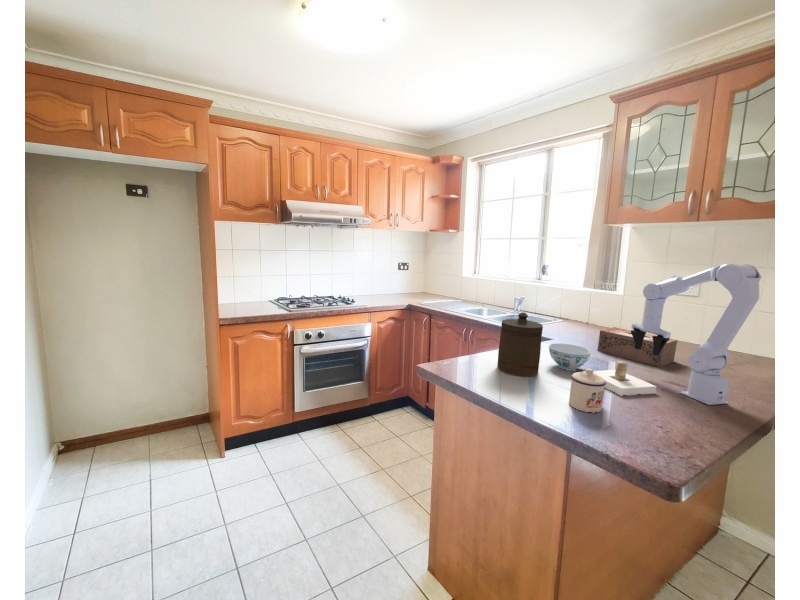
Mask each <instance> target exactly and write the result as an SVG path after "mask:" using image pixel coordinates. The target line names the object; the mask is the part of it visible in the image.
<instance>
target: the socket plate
mask: <svg viewBox="0 0 800 600" xmlns="http://www.w3.org/2000/svg"><path fill="white" fill-rule="evenodd" d="M615 371H616V369H607V370H605V369H603V370H593V373H595V374H597V375H598V376H600V377H602V378H603V379H604V380H605V382H606V384H605V386H604V389H606V390H607V391H610V390H611V391H610V392H612V391H613V392H612V393H614V392H615V393H614V394H616V395H618V396H620V397H624V396H623V395H626V396H638V395H637V394H641V395H653V394H656V391H657V386H656V385H654V384H652V383H649V382H647V381H645V380H643V379H640V378H638V377H636V376H633V375H631V374H628V373H626V377H625V381H618V380H615V379H614V378H615Z"/></svg>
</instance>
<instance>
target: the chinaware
mask: <svg viewBox="0 0 800 600" xmlns="http://www.w3.org/2000/svg"><path fill="white" fill-rule="evenodd" d="M548 350H549V355H550V357H551V359H552V360H553V361H554V362H555V363H556V365H557V367H558V368H559V367H560V368H559V369H561V368H562V369H561V370H564V369H566V371H571V370H573V371H576V370H577V369H578V368H580V367H581V366H583V365H585V364H586V362H588V360H589V358H590V357H591V354H592V352H591V350H590V349H588V348H586V347H582V346H580V345H575V344H570V343H558V342H557V343H556V342H555V343H551V344H549V345H548Z"/></svg>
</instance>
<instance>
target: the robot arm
mask: <svg viewBox="0 0 800 600" xmlns="http://www.w3.org/2000/svg"><path fill="white" fill-rule="evenodd" d="M762 277H763V276H762V275H761V273H760V272H759V270H758V269H757V268H756V267H755V266H754V265H753V264H734V263H725V264H721V265H717V266H714V267H710V268H708V269H706V270H702V271H699V272H697V273H694V274H691V275H689V276H686V277H683V276H681V275H672V276H670V278H668V279H666V280H659V281H658V283H652V282H651V283H647V285H645V286H644V288H643V290H642V293H643V297H644V298H645V302H644V308H643V312H642V313H643V314H642V319H641V320H642V322H641V324H639V323H631V327H630V329H631V334H632V336H633V339H634V343H635V349H641V347H642V343H643V339H644V336H645V334H651V335H656V336H652V338H653V355H659V354H660V352H661V350H662V348H663V346H664V345H665V344H666V343H667V342H668V341H669V339H670V338H671V334H672V333H671V332H670V331H667V330H665V329H662V328H661V324H662V319H663V318H662V317H663V311H664V305H665V303H666V300H667V298H669V297H671V296H675V295H679V294H683V293H686V292H687V291H688V290H689V287H693V286H698V285H702V284H705V283H709V282H718V283H719V284H721V285H722V286H723V287H724V288H725V289H726V290H727V291H728V292H729V293H730V295H731V297H732V298H731V300H730V302H729V303H728V305H727V307H726V308H725V310H724V311H723V314H722V315H721V316H720V318H719V320H718V321H717V323H716V325H715V327H714V328H713V330H712V332H711V334H710V335H709V336H708V338H707V340H706V341H705V342H704V343H702V344H701V345H700V346H698V347H697V349H696V350H695V351H694V352H691V353H690V354H689V355H688V358H687V362H688V365H689V367H690V376H689V381H688V387H687V390H686V391H685V390H684V391H683V390H682V391H680V394H682V395H684V396H687V397H689V398H692V399H694V400H696V401H699V402H701V403H704V404H707V405H710V406H711V405H712V406H713V405H724V404H728V403H729V402H728V401H727V398H728V393H729V389H730V382H729V380H728V379H727V378H726V377H723V376H722V375H721V373H722V370H724V369H725V368H726V366H727V365H728V358H729V355H730V353H731V352H730V351H729V349H728V348H729V347H730V345H731V343H732V342H733V341H734V339H735V337H736V336H737V334H738V333H739V332H740V329H741V328H742V326H743V325H744V323H745V322H746V321H747V319H748V317H749V315H750V314H751V312H752V311H753V309H754V308H755V307H756V304H758V301H759V299H760V281H761V279H762Z"/></svg>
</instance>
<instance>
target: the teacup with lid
mask: <svg viewBox="0 0 800 600" xmlns="http://www.w3.org/2000/svg"><path fill="white" fill-rule="evenodd" d="M593 371H594V369H592V368H589V367H588V368H585V370H583V371H577V372H574V373H573V374H571V376H570V377H571V383H570V390H569V397H568V404H569V406H570V405H571V406H572V407H571V406H570V407H571V408H573V407H574V408H573V409H575V408H576V409H575V410H577V409H578V410H577V411H579V410H581V411H580V412H582V411H585V412H584V413H587V412H592V413H591V414H596V413H595V412H597V413H600V412H601V411H602V406H603V398H604V393H605V392H604V391H605V388H604V386H605V384H606V382H605V380H604V379H603V378H602V377H600V376H598V375H597V374H595V373H593Z"/></svg>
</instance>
